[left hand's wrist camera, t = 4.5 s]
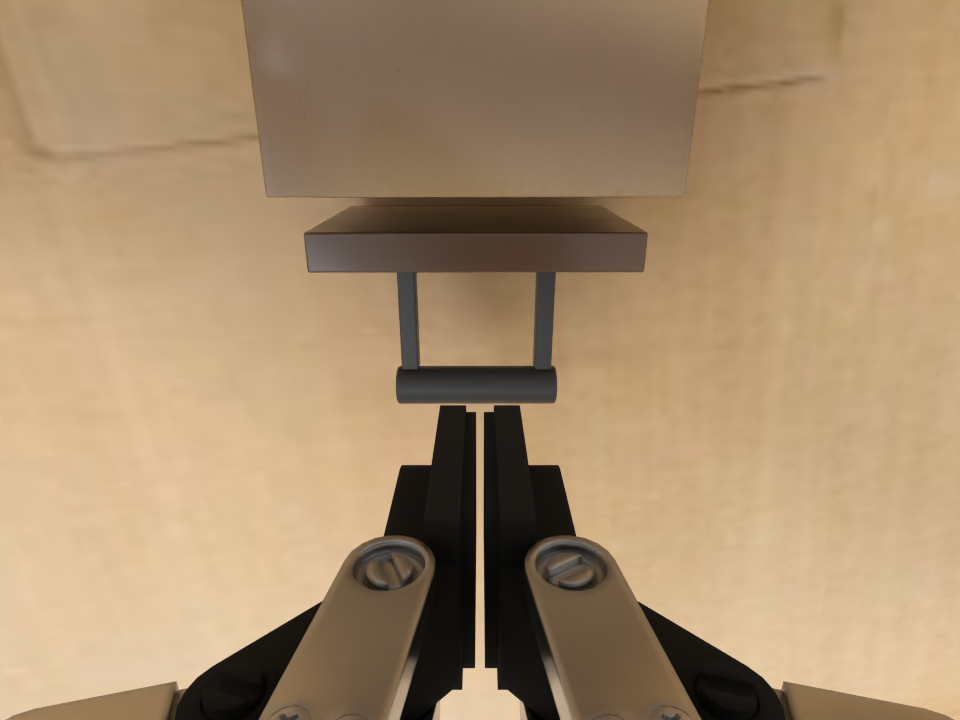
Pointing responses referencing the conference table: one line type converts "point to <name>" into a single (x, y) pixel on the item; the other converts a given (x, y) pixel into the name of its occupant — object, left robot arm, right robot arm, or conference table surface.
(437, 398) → the drawer
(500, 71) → the cabinet
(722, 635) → the conference table surface
